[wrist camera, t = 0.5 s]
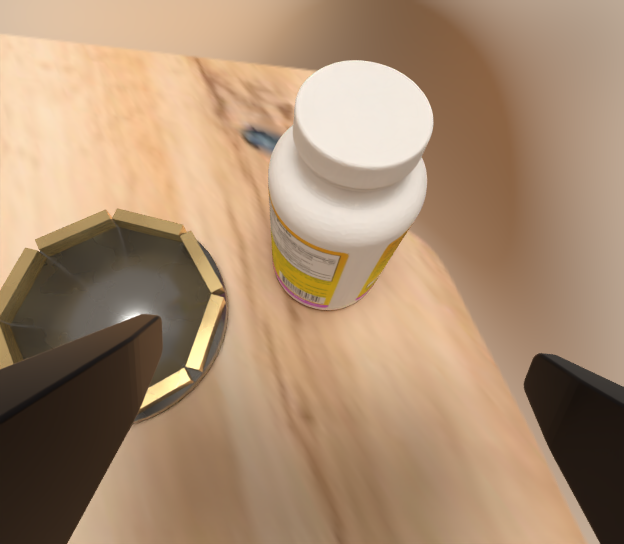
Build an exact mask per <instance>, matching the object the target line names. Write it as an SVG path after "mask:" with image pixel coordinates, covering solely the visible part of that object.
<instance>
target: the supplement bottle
mask: <svg viewBox="0 0 624 544" xmlns="http://www.w3.org/2000/svg"><path fill="white" fill-rule="evenodd" d="M432 130H433V114H432V109H431V106H430V104H429V102H428V100H427V98H426V96H425V95H424V93H423V92H422V91H421V90H420V88H419V87H418V86H417V85H416V84H415V83H414V82H413V81H412V80H410V79H409V78H408V77H407V76H405V75H404V74H402V73H400V72H398V71H396V70H395V69H393V68H390V67H388V66H385V65H381V64H378V63H374V62H367V61H360V60H357V61H342V62H337V63H333V64H331V65H328V66H326V67H324V68H322V69H320V70H318V71H316V72H315V73H313V74H312V75H311V76H310V77H309V78H308V79H307V80H306V81H305V82H304V83H303V85H302V86H301V88H300V90H299V92H298V94H297V97H296V102H295V110H294V122H293V125H292V126H291V127H290V128H289V129H288V130H287V131H286V132H285V133H284V134H283V135H282V136H281V138H280V139H279V141H278V142H277V144H276V146H275V148H274V150H273V153H272V156H271V159H270V164H269V171H268V189H269V203H270V221H271V238H272V256H273V265H274V270H275V273H276V276H277V279H278V281H279V282H280V284H281V286H282V287H283V288H284V290H285V291H286V292H287V293H288V294H289V295H290V296H291V297H292V298H294V299H295V300H296V301H298V302H300V303H301V304H304V305H306V306H308V307H311V308H315V309H320V310H336V309H341V308H345V307H347V306H350V305H352V304H354V303H356V302H357V301H359V300H360V299H361V298H363V297H364V296H365V295H366V294H367V292H368V291H369V290H370V289H371V287H372V286H373V285H374V283H375V282H376V280H377V278H378V277H379V275H380V274H381V272H382V271H383V269H384V267H385V266H386V264H387V263H388V261H389V259H390V258H391V256H392V255H393V253H394V251H395V250H396V248H397V247H398V245H399V244H400V242H401V241H402V239H403V238H404V236H405V235H406V233H407V231H408V230H409V229H410V227H411V225H412V224H413V222H414V221H415V219H416V217H417V216H418V214H419V212H420V210H421V208H422V205H423V203H424V199H425V195H426V189H427V174H426V168H425V165H424V162H423V159H422V155H423V153H424V150H425V148H426V146H427V144H428V142H429V139H430V137H431V134H432Z"/></svg>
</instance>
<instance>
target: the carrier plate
mask: <svg viewBox="0 0 624 544" xmlns="http://www.w3.org/2000/svg"><path fill="white" fill-rule="evenodd" d="M35 241H36V243H37V246H38V248H39V250H40V252H39V251H37V250H33V249H29V248H25V249H24V251H23V253H22V254H21V256H20V258H19V259H18V261H17V263H16V264H15V266H14V268H13V270H12V271H11V273H10V275H9V276H8V278H7V280H6V281H5V283H4V285H3V287H2V288H1V290H0V369H2V368H5V367H7V366H10V365H12V364H15V363H17V362H20V361H23V360H25V359H28V358H30V357H33V356H35V355H38V354H41V353H43V352H46V351H48V350H51V349H53V348H56V347H58V346H61V345H64V344H66V343H69V342H71V341H74V340H76V339H79V338H82V337H84V336H87V335H89V334H92V333H94V332H97V331H100V330H102V329H105V328H107V327H110V326H112V325H115V324H117V323H120V322H123V321H125V320H128V319H130V318H133V317H135V316H138V315H141V314H150V315H158V316H160V317H161V320H162V336H163V350H162V355H161V358H160V360H159V363H158V365H157V368H156V370H155V373H154V375H153V378H152V380H151V383H150V385H149V388H148V390H147V393H146V395H145V398H144V400H143V403H142V405H141V407H140V410H139V412H138V414H137V416H136V418H135V420H134V422H133V424H134V423H138V422H141V421H143V420H146V419H149V418H152V417H154V416H156V415H157V414H159V413H161V412H163V411H165V410H167V409H169V408H170V407H171V406H173V405H174V404H176V403H177V402H179V401H180V400H181V399H183V398H184V397H185V396H186V395H187V394H188V393H190V392H191V391H192V390H193V389H194V388H195V387H196V385H197V384H198V383H199V382H200V381H201V380H202V379H203V377H204V376H205V375H206V373H207V372H208V370H209V369H210V368H211V366H212V364H213V362H214V361H215V359H216V357H217V355H218V353H219V350H220V348H221V345H222V343H223V340H224V336H225V332H226V328H227V320H228V301H227V295H226V289H225V286H224V283H223V280H222V277H221V274H220V272H219V270H218V268H217V266H216V264H215V262H214V260H213V259H212V257H211V256H210V254H209V253H208V251H207V250H206V249H205V248H204V247H203V246H202V245H201V244H200V243H199V242H198V241H197V240H196V238H195V237H194V235H193V233H192V231H189V232H186V230H185V228H184V226H183V225H182V224H178V223H174V222H170V221H166V220H162V219H158V218H154V217H150V216H146V215H142V214H138V213H134V212H130V211H126V210H121V209H117V210H116V212H115V214H114V216H113V218H112V217H111V215H110V214H109V213H108V212H107V210H103V211H101V212H99V213H96V214H94V215H92V216H89V217H87V218H85V219H82V220H80V221H78V222H75V223H73V224H71V225H68V226H66V227H63V228H61V229H59V230H56V231H54V232H52V233H49V234H47V235H45V236H42V237H40V238H38V239H35Z"/></svg>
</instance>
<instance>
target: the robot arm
mask: <svg viewBox="0 0 624 544" xmlns="http://www.w3.org/2000/svg"><path fill="white" fill-rule="evenodd" d="M162 350H163V336H162V320H161V317H160V316H158V315H150V314H141V315H138V316H135V317H133V318H130V319H128V320H125V321H123V322H120V323H117V324H115V325H112V326H110V327H107V328H105V329H102V330H100V331H97V332H94V333H92V334H89V335H87V336H84V337H82V338H79V339H76V340H74V341H71V342H69V343H66V344H64V345H61V346H58V347H56V348H53V349H51V350H48V351H46V352H43V353H41V354H38V355H35V356H33V357H30V358H28V359H25V360H23V361H20V362H17V363H15V364H12V365H10V366H7V367H5V368H2V369H0V544H67V543H68V541H69V539H70V537H71V536H72V534H73V532H74V530H75V528H76V526H77V525H78V523H79V521H80V519H81V517H82V515H83V514H84V512H85V510H86V508H87V506H88V504H89V503H90V501H91V499H92V497H93V495H94V493H95V491H96V490H97V488H98V486H99V484H100V482H101V480H102V479H103V477H104V475H105V473H106V471H107V469H108V468H109V466H110V464H111V462H112V460H113V458H114V457H115V455H116V453H117V451H118V449H119V447H120V446H121V444H122V442H123V440H124V438H125V436H126V435H127V433H128V431H129V429H130V427H131V425H132V424H133V422H134V420H135V418H136V416H137V414H138V412H139V410H140V407H141V405H142V403H143V400H144V398H145V395H146V393H147V390H148V388H149V385H150V383H151V380H152V378H153V375H154V373H155V370H156V368H157V365H158V363H159V360H160V358H161V355H162ZM524 390H525V393H526V395H527V397H528V400H529V402H530V405H531V407H532V409H533V412H534V414H535V417H536V419H537V421H538V423H539V426H540V428H541V431H542V433H543V435H544V438H545V440H546V442H547V445H548V447H549V449H550V451H551V453H552V455H553V457H554V459H555V461H556V462H557V464H558V466H559V468H560V470H561V472H562V474H563V476H564V477H565V479H566V481H567V483H568V484H569V487H570V488H571V490H572V492H573V494H574V496H575V497H576V500H577V501H578V503H579V505H580V507H581V509H582V511H583V513H584V514H585V516H586V518H587V520H588V522H589V524H590V525H591V527H592V529H593V531H594V533H595V534H596V537H597V539H598V540H599V542H600V544H624V387H622V386H620V385H618V384H616V383H614V382H612V381H610V380H608V379H606V378H603V377H601V376H599V375H597V374H595V373H593V372H591V371H589V370H586V369H584V368H582V367H580V366H578V365H576V364H574V363H571V362H570V361H568V360H565V359H563V358H561V357H559V356H557V355H553V354H542V353H539V354H537V355H535V356H534V358H533V360H532V362H531V365H530V368H529V370H528V373H527V375H526V378H525V381H524Z"/></svg>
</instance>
